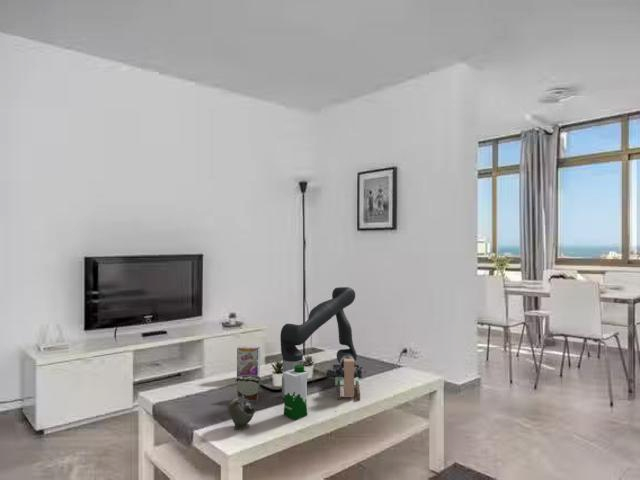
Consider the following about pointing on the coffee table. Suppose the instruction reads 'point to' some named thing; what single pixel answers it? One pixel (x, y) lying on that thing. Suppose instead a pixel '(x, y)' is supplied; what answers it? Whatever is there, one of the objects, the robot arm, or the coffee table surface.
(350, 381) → the terracotta post
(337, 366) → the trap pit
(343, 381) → the pad
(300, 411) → the milk carton
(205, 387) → the coffee table surface
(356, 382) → the walled channel
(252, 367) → the candy bar box
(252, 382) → the food container
